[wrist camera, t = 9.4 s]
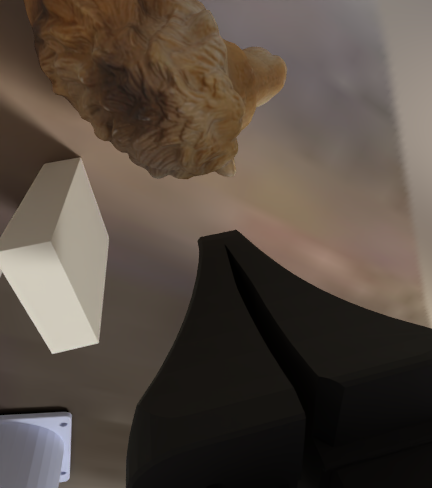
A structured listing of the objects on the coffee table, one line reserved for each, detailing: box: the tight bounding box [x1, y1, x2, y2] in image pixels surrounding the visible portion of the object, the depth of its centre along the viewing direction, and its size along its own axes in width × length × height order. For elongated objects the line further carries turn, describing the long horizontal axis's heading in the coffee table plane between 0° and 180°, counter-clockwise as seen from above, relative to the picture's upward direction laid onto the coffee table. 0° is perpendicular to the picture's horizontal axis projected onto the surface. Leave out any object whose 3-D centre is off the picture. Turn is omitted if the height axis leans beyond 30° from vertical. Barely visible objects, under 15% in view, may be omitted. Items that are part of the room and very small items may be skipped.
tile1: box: [0, 157, 109, 354], centre depth 14 cm, size 2×4×7 cm, turn 7°
